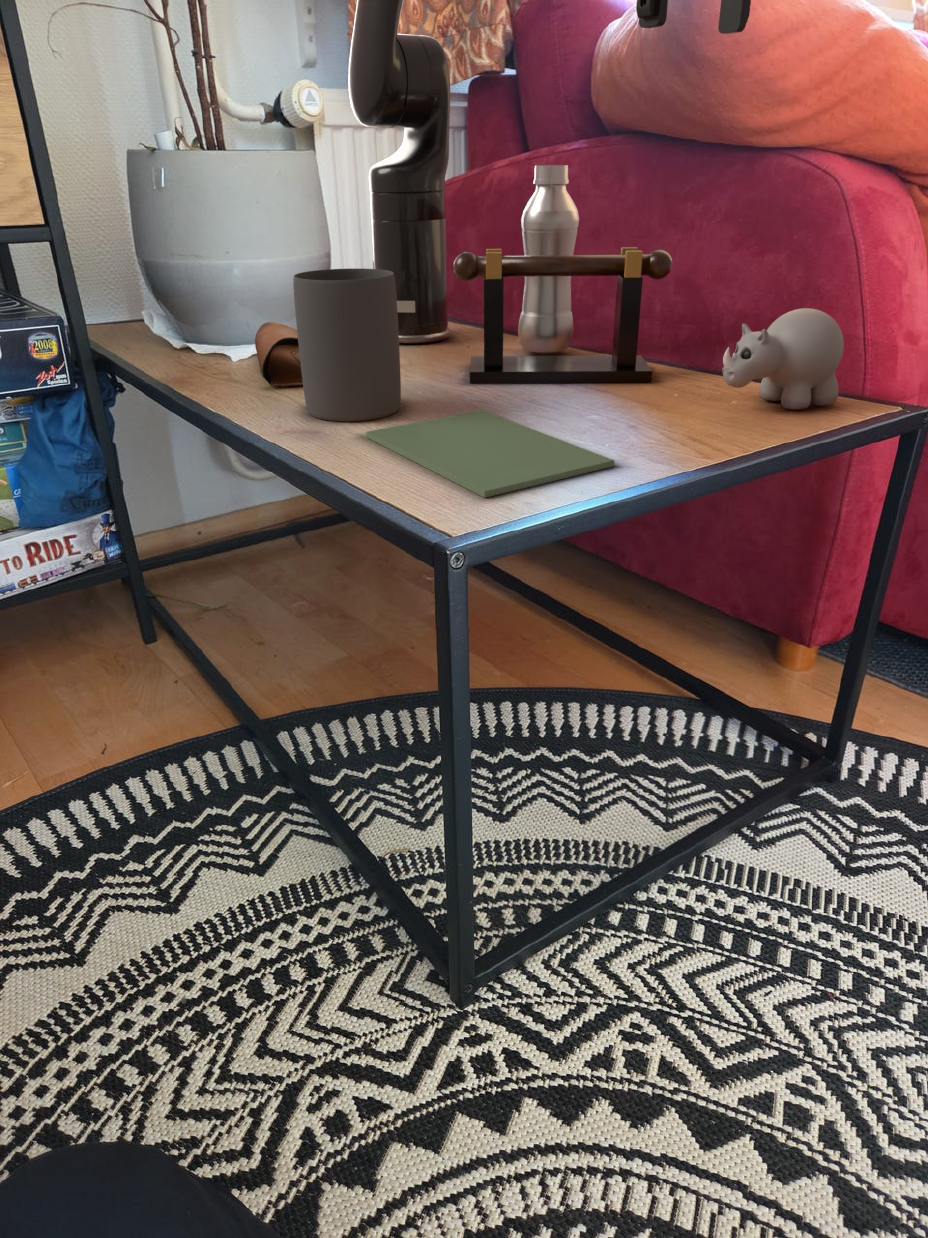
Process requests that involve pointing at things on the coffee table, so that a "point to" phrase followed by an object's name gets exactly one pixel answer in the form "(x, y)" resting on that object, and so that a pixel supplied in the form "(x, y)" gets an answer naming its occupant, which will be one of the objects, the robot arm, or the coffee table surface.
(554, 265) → the knobbed wooden handle
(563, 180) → the silver metal bottle
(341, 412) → the mug
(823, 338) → the toy rhinoceros
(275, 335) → the sunglasses case
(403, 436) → the mat
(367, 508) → the coffee table surface
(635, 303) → the rack
